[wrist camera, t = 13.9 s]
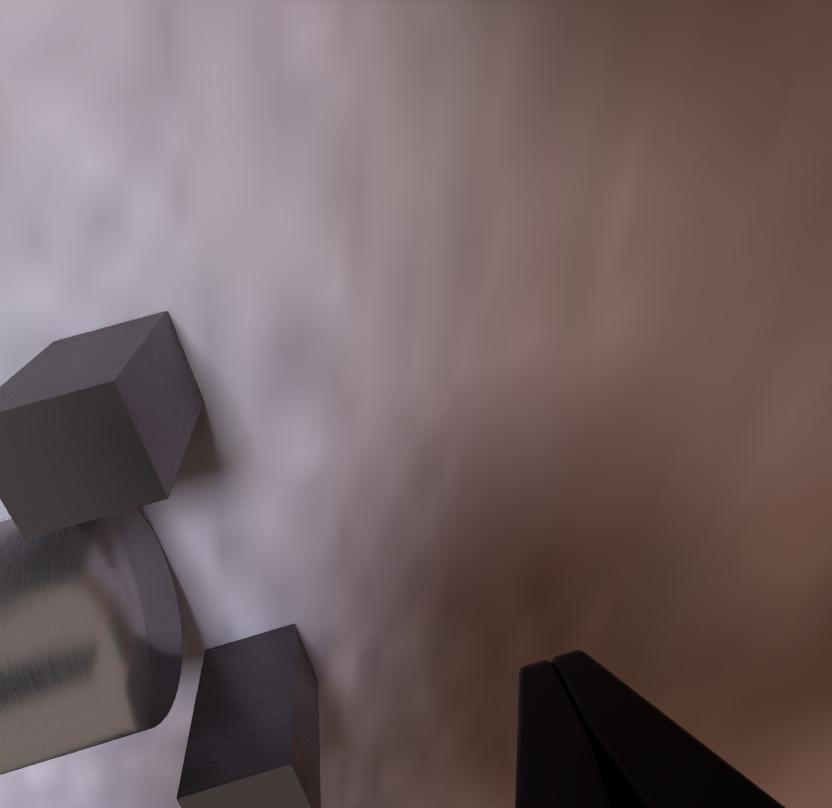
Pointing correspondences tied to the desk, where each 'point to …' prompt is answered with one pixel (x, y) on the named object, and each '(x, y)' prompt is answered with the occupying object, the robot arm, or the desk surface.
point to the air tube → (84, 637)
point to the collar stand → (143, 484)
